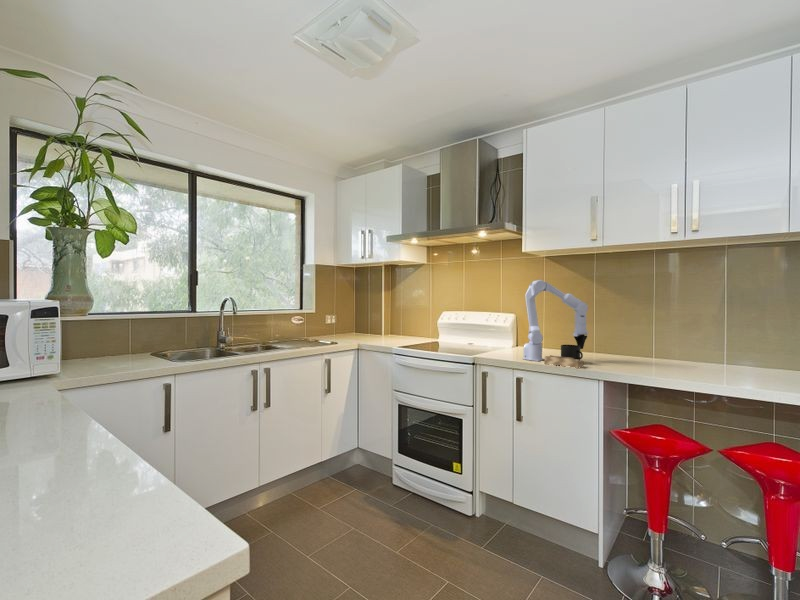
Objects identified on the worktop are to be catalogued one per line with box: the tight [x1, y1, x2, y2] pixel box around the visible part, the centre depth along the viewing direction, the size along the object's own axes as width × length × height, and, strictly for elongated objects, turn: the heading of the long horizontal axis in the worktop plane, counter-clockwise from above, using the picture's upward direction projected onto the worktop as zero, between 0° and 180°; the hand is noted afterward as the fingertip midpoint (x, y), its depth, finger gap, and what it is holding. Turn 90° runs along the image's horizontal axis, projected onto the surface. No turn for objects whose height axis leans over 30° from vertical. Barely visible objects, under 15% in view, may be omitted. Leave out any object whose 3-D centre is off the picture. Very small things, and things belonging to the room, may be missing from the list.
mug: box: [560, 344, 584, 361], centre depth 211 cm, size 9×12×9 cm
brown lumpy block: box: [544, 354, 584, 369], centre depth 203 cm, size 17×7×5 cm, turn 43°
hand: (580, 348), depth 217 cm, fingers closed
